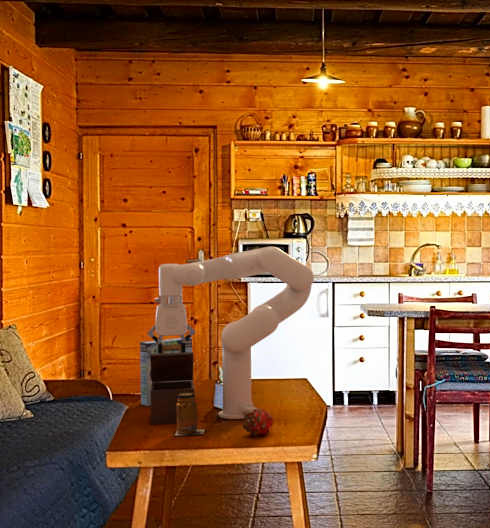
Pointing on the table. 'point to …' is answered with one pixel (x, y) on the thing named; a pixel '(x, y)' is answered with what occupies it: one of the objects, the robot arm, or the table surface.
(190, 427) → the condiment
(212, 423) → the table surface
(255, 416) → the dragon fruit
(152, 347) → the gum box
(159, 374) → the dark brown upright block
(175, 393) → the chest
